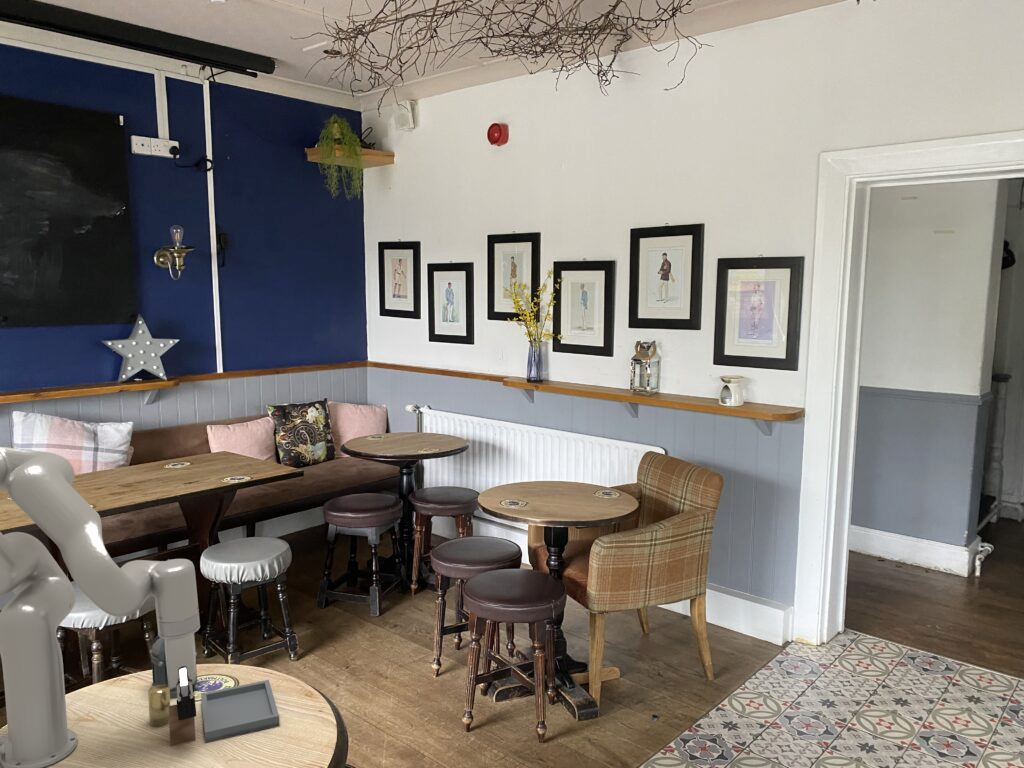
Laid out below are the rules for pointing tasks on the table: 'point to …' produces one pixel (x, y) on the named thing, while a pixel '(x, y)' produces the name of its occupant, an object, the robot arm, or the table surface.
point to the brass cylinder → (159, 705)
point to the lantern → (162, 666)
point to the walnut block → (180, 728)
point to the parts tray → (238, 710)
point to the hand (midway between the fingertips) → (186, 705)
